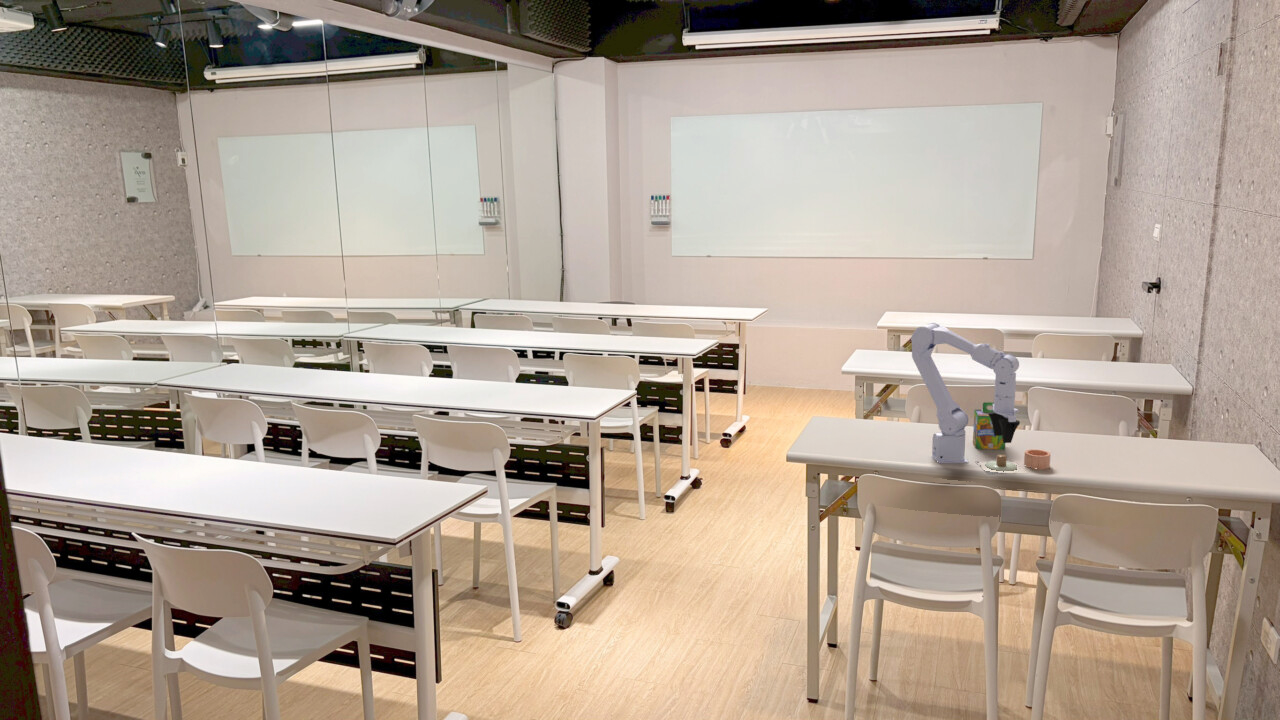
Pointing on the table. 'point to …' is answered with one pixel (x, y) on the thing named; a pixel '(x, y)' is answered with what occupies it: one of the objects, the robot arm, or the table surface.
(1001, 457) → the lid
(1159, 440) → the table surface
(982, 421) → the chalk box
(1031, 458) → the bowl
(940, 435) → the robot arm
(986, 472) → the mat
